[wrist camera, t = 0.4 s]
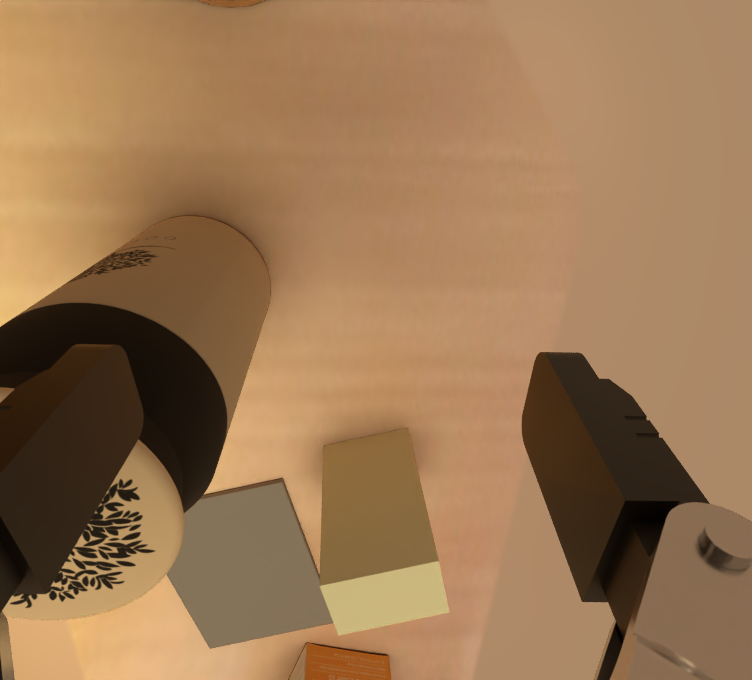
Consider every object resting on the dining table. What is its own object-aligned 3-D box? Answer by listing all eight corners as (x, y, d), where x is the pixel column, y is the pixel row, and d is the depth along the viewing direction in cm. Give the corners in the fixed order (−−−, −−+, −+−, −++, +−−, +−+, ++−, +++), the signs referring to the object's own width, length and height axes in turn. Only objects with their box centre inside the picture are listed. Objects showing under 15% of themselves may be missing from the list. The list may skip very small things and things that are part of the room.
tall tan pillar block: (323, 445, 34) (319, 586, 24) (407, 427, 34) (438, 560, 24) (336, 488, 36) (338, 635, 26) (417, 471, 35) (449, 612, 26)
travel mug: (282, 337, 30) (223, 608, 14) (153, 353, 30) (-63, 647, 14) (256, 206, 26) (134, 363, 10) (108, 223, 26) (-252, 411, 10)
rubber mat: (133, 510, 35) (131, 514, 34) (282, 478, 35) (281, 482, 34) (211, 644, 42) (209, 648, 42) (335, 617, 42) (335, 622, 41)
